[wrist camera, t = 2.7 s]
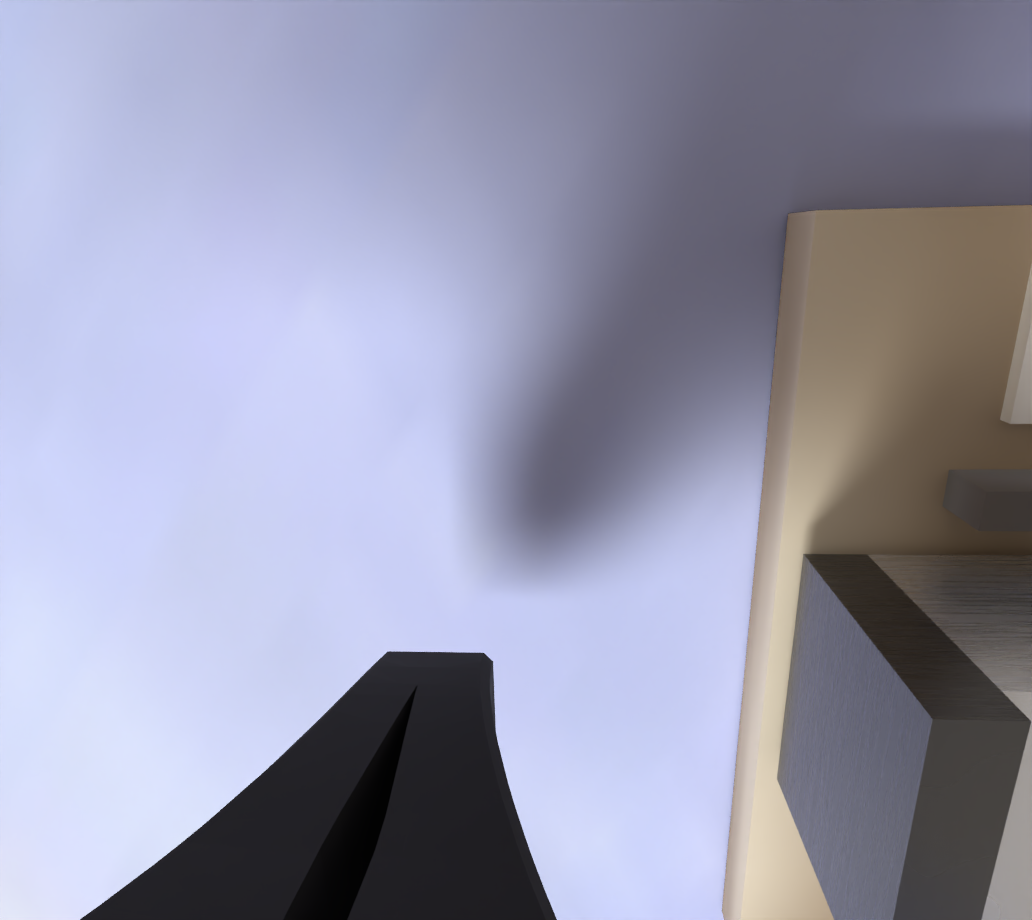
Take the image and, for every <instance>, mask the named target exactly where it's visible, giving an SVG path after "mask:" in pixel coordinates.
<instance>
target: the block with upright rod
mask: <svg viewBox="0 0 1032 920" xmlns="http://www.w3.org/2000/svg"><path fill="white" fill-rule="evenodd" d="M777 780H778V783H779V785H780V788H781V790H782V793H783V795H784V798H785V800H786V803H787V805H788V808H789V810H790V812H791V815H792V817H793V820H794V822H795V825H796V827H797V830H798V832H799V835H800V837H801V840H802V842H803V844H804V847H805V849H806V852H807V854H808V857H809V859H810V862H811V864H812V867H813V869H814V872H815V874H816V876H817V879H818V881H819V884H820V886H821V889H822V891H823V894H824V896H825V899H826V901H827V904H828V906H829V909H830V911H831V913H832V916H833V918H834V920H1032V555H885V554H803V561H802V570H801V578H800V587H799V595H798V604H797V612H796V621H795V629H794V638H793V646H792V654H791V663H790V671H789V680H788V688H787V697H786V705H785V714H784V722H783V731H782V739H781V748H780V756H779V764H778V773H777Z"/></svg>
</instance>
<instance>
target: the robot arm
mask: <svg viewBox="0 0 1032 920" xmlns="http://www.w3.org/2000/svg"><path fill="white" fill-rule="evenodd" d="M80 920H557V919H556V917H555V914H554V912H553V909H552V907H551V905H550V902H549V900H548V897H547V895H546V893H545V890H544V887H543V885H542V882H541V880H540V877H539V874H538V872H537V869H536V867H535V864H534V861H533V858H532V856H531V853H530V850H529V847H528V844H527V841H526V839H525V836H524V833H523V830H522V827H521V824H520V821H519V818H518V815H517V812H516V809H515V805H514V802H513V799H512V795H511V792H510V789H509V785H508V782H507V778H506V774H505V770H504V766H503V762H502V758H501V754H500V750H499V746H498V742H497V737H496V730H495V704H494V679H493V661H492V660H491V659H490V658H489V657H488V656H487V655H485V654H484V653H454V652H387V653H386V654H385V655H384V656H383V657H382V658H381V659H379V660H378V661H377V662H376V663H375V664H374V665H373V666H372V667H371V668H370V669H369V670H368V671H367V672H366V673H365V674H364V675H363V676H362V677H361V678H360V679H359V680H358V681H357V682H356V683H355V684H354V685H353V686H352V687H351V688H350V689H349V690H348V691H347V692H346V693H345V694H344V695H343V696H342V697H341V698H340V699H339V700H338V701H337V702H336V703H335V704H334V705H333V706H332V707H331V708H330V709H329V710H328V711H327V712H326V713H325V714H324V715H323V716H322V717H321V718H320V719H319V720H318V721H317V722H316V723H315V724H314V725H313V726H312V727H311V728H310V729H309V730H308V731H307V732H306V733H305V734H304V735H303V736H302V737H301V738H299V739H298V740H297V741H296V742H295V743H294V744H293V745H292V746H291V747H290V748H289V749H288V750H287V751H286V752H285V753H284V754H283V755H282V756H281V757H280V758H279V759H278V760H276V761H275V762H274V763H273V764H272V765H271V766H270V767H269V768H268V769H267V770H266V771H265V772H264V773H262V774H261V775H260V776H259V777H258V778H257V779H256V780H254V781H253V782H252V783H251V784H250V785H249V786H248V787H246V788H245V789H244V790H243V791H242V792H241V793H240V794H238V795H237V796H236V797H235V798H234V799H233V800H232V801H230V802H229V803H228V804H227V805H226V806H225V807H224V808H223V809H221V810H220V811H219V812H218V813H217V814H216V815H215V816H213V817H212V818H211V819H210V820H209V821H208V822H207V823H205V824H204V825H203V826H202V827H201V828H199V829H198V830H197V831H196V832H194V833H193V834H192V835H191V836H190V837H188V838H187V839H186V840H185V841H183V842H182V843H181V844H180V845H178V846H177V847H176V848H175V849H173V850H172V851H171V852H170V853H168V854H167V855H166V856H164V857H163V858H162V859H161V860H159V861H158V862H157V863H156V864H154V865H153V866H152V867H150V868H149V869H148V870H146V871H145V872H144V873H142V874H141V875H140V876H138V877H137V878H136V879H134V880H133V881H132V882H130V883H129V884H128V885H126V886H125V887H124V888H122V889H121V890H120V891H118V892H117V893H116V894H114V895H113V896H112V897H110V898H109V899H108V900H106V901H105V902H104V903H102V904H101V905H100V906H98V907H97V908H96V909H94V910H93V911H91V912H90V913H89V914H87V915H86V916H84V917H83V918H82V919H80Z"/></svg>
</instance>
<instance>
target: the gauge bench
mask: <svg viewBox="0 0 1032 920" xmlns="http://www.w3.org/2000/svg"><path fill="white" fill-rule="evenodd" d="M803 554H885V555H1032V205H1006V206H966V207H926V208H886V209H847V210H814V211H806V212H797V213H789V214H788V219H787V229H786V240H785V250H784V261H783V271H782V282H781V293H780V303H779V314H778V324H777V335H776V345H775V356H774V367H773V377H772V388H771V398H770V409H769V419H768V430H767V440H766V451H765V462H764V472H763V483H762V493H761V504H760V514H759V525H758V536H757V546H756V557H755V567H754V578H753V588H752V599H751V609H750V620H749V631H748V641H747V652H746V662H745V673H744V683H743V694H742V705H741V715H740V726H739V736H738V747H737V757H736V768H735V778H734V789H733V800H732V810H731V821H730V831H729V842H728V852H727V863H726V874H725V884H724V895H723V905H722V913H723V917H724V920H834V918H833V916H832V913H831V911H830V909H829V906H828V904H827V901H826V899H825V896H824V894H823V891H822V889H821V886H820V884H819V881H818V879H817V876H816V874H815V872H814V869H813V867H812V864H811V862H810V859H809V857H808V854H807V852H806V849H805V847H804V844H803V842H802V840H801V837H800V835H799V832H798V830H797V827H796V825H795V822H794V820H793V817H792V815H791V812H790V810H789V808H788V805H787V803H786V800H785V798H784V795H783V793H782V790H781V788H780V785H779V783H778V780H777V773H778V764H779V756H780V748H781V739H782V731H783V722H784V714H785V705H786V697H787V688H788V680H789V671H790V663H791V654H792V646H793V638H794V629H795V621H796V612H797V604H798V595H799V587H800V578H801V570H802V561H803Z"/></svg>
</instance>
